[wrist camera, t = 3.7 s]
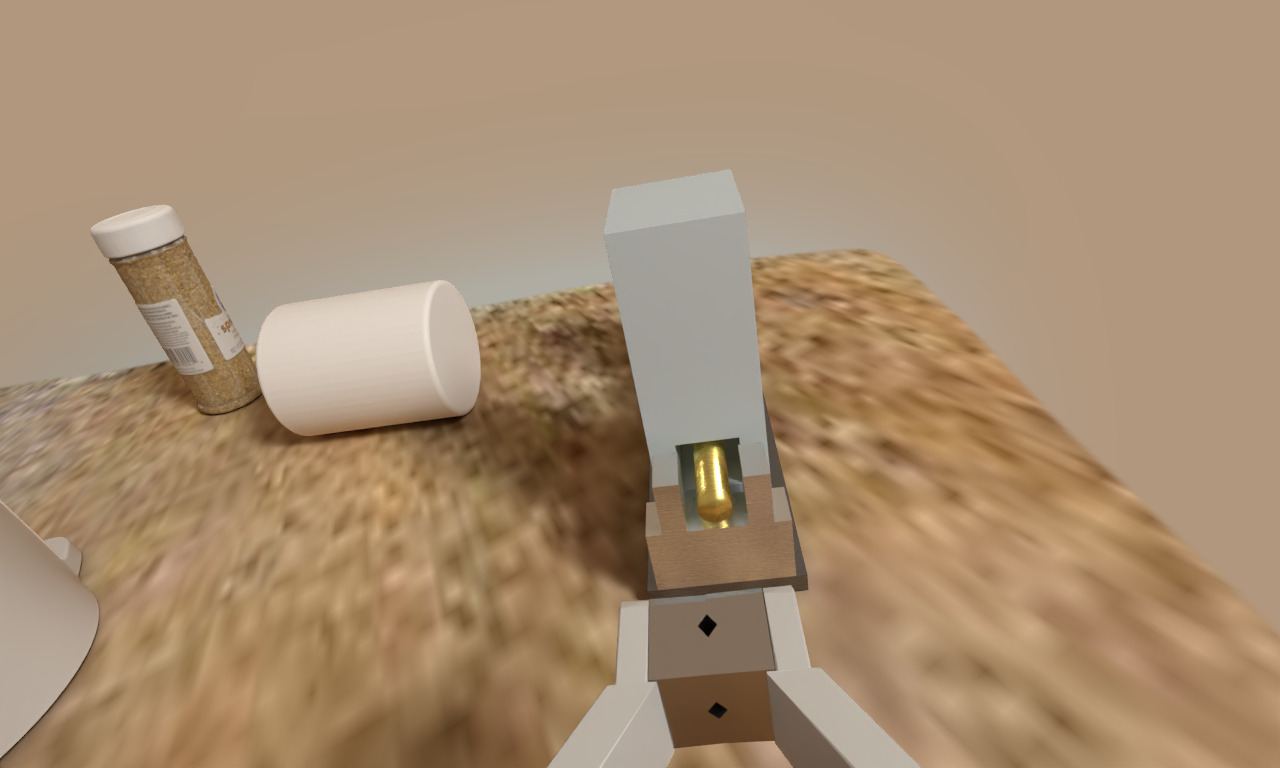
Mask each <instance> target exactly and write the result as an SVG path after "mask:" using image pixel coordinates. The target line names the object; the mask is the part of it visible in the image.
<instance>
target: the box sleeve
mask: <svg viewBox="0 0 1280 768" xmlns="http://www.w3.org/2000/svg"><path fill="white" fill-rule="evenodd" d="M604 240H605V244H606V249H607V253H608V258H609V263H610V268H611V273H612V278H613V283H614V287H615V292H616V297H617V302H618V307H619V311H620V316H621V321H622V326H623V331H624V335H625V340H626V345H627V350H628V355H629V359H630V364H631V369H632V374H633V378H634V383H635V388H636V393H637V398H638V402H639V407H640V412H641V417H642V422H643V426H644V431H645V436H646V441H647V446H648V450H649V455H650V460H651V465H652V455H660V454H668V453H676V452H677V455H678V461H679V466H680V471H681V477H682V482H683V488H684V493H685V498H692V497H697V494H696V480H695V466H694V452H693V443H698V442H706V441H714V440H722V439H723V443H724V450H725V458H726V465H727V473H728V480H729V487H730V493H735V492H743V491H744V490H743V482H742V474H741V466H740V458H739V450H738V445H740V444H748V443H756V442H763V443H764V448H765V453H766V457H767V462H768V466H769V471H770V465H769V455H768V444H767V434H766V423H765V413H764V402H763V392H762V381H761V371H760V360H759V350H758V340H757V329H756V319H755V308H754V298H753V287H752V277H751V266H750V256H749V246H748V236H747V224H746V214H745V210H744V207H743V204H742V201H741V198H740V195H739V192H738V190H737V186H736V184H735V181H734V178H733V175H732V172H731V170H730V169H729V170H724V171H718V172H712V173H706V174H700V175H694V176H688V177H682V178H676V179H670V180H665V181H658V182H652V183H646V184H641V185H634V186H628V187H622V188H616V189H613V190H612V195H611V200H610V205H609V210H608V215H607V220H606V225H605V230H604ZM770 478H771V476H770ZM771 488H772V486H771Z"/></svg>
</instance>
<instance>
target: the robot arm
mask: <svg viewBox="0 0 1280 768" xmlns="http://www.w3.org/2000/svg"><path fill="white" fill-rule="evenodd" d="M81 560H82V553H81V550H80V549H79V548H77V547H76V546H75V545H74V544H73V543H72V542H71V541H70V540H69V539H68V538H65V537H56V538H51V539H47V540H43V539H42V538H40V537H39V536H38V535H37V534H36V533H35V532H34V531H33V530H32V529H31V528H30V527H29V526H28V525H27V524H26V523H24V522H23V521H22V520H21V519H20V518H19V517H18V516H17V515H16V514H15V513H14V512H13V511H12V510H11V509H10V508H9V507H7V506H6V505H5V504H4V503H3V502H2V501H1V500H0V758H1V757H2V756H3V755H4V754H5V753H6V752H7V751H8V750H9V749H10V748H11V747H12V746H13V745H14V744H16V743H17V742H18V741H19V740H20V739H21V738H22V737H23V736H24V735H25V734H26V733H27V731H28V730H29V729H30V728H31V727H32V726H33V725H34V724H35V723H36V722H37V721H38V720H39V719H40V718H41V717H42V715H43V714H44V713H45V712H46V711H47V710H48V709H49V707H50V706H51V705H52V704H53V703H54V702H55V700H56V699H57V698H58V697H59V695H60V694H61V693H62V691H63V690H64V689H65V688H66V686H67V685H68V683H69V682H70V681H71V679H72V678H73V676H74V675H75V673H76V672H77V670H78V669H79V667H80V665H81V664H82V662H83V660H84V658H85V657H86V655H87V653H88V651H89V649H90V647H91V644H92V642H93V640H94V637H95V634H96V631H97V627H98V621H99V606H98V603H97V600H96V598H95V596H94V594H93V593H92V592H91V591H90V590H89V589H88V588H87V587H86V586H85V585H84V584H83V583H82V582H81V581H80V579H79V576H78V575H79V571H80V566H81ZM757 741H775V744H776V745H777V746H778V748H779V749H780V750H781V752H782V753H783V754H784V756H785V757H786V758H787V760H788V761H789V762H790V764H791V765H792V766H793V768H921V767H920V766H919V765H918V764H917V763H916V762H915V761H914V760H913V759H912V758H911V757H910V756H909V755H908V754H907V753H906V752H905V751H904V750H903V749H902V748H901V747H900V746H899V745H898V744H897V743H896V742H895V741H894V740H893V739H892V738H891V737H890V736H889V735H888V734H887V733H886V732H885V731H884V730H883V729H882V728H881V727H880V726H879V725H878V724H877V723H876V722H875V721H874V720H873V719H872V718H871V717H870V716H869V715H868V714H867V713H866V712H865V711H864V710H863V709H862V708H861V707H860V706H859V705H858V704H857V703H856V702H855V701H854V700H853V699H852V698H851V697H850V696H849V695H848V694H847V693H846V692H844V691H843V690H842V689H841V688H840V687H839V686H838V685H837V684H836V683H835V682H834V681H833V680H832V679H831V678H830V677H829V676H828V675H827V674H826V673H825V672H824V671H823V670H822V669H821V668H820V667H813V668H811V665H810V661H809V656H808V652H807V647H806V642H805V638H804V633H803V629H802V624H801V619H800V615H799V610H798V606H797V601H796V596H795V592H794V589H793V587H792V586H791V585H788V586H778V587H769V588H763V590H762V588H755V589H747V590H738V591H729V592H720V593H711V594H706V595H700V596H687V597H673V598H660V599H650V600H638V601H626V602H622V603H621V606H620V609H619V621H618V637H617V653H616V669H615V685H609V686H606V687H605V688H604V690H603V691H602V692H601V694H600V695H599V696H598V698H597V699H596V701H595V702H594V703H593V705H592V706H591V708H590V709H589V710H588V712H587V713H586V714H585V716H584V717H583V719H582V720H581V721H580V723H579V724H578V726H577V727H576V728H575V730H574V731H573V732H572V734H571V735H570V737H569V738H568V739H567V741H566V742H565V743H564V745H563V746H562V748H561V749H560V750H559V752H558V753H557V755H556V756H555V757H554V759H553V760H552V761H551V763H550V764H549V766H548V767H547V768H667V766H668V764H669V762H670V760H671V758H672V756H673V754H674V748H682V747H692V746H701V745H711V744H720V743H737V742H757Z"/></svg>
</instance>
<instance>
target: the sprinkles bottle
mask: <svg viewBox="0 0 1280 768" xmlns="http://www.w3.org/2000/svg"><path fill="white" fill-rule="evenodd" d="M90 233H91V235H92V237H93V239H94V240H95V242H96V244H97V246H98V247H99V249H100V251H101V252H102V254H103V255H104V257H106V258H109V262H110V263H111V264H112V265H113V266H115V268H116V270H117V272H118V274H119V275H120V277H121V279H122V280H123V282H124V283H125V285H126V286H127V288H128V290H129V292H130V293H131V295H132V297H133V298H134V300H135V303H136V305H137V307H138V309H139V310H140V312H141V314H142V315H143V317H144V318H145V320H146V322H147V323H148V325H149V326H150V328H151V330H152V332H153V333H154V335H155V336H156V338H157V340H158V341H159V343H160V344H161V346H162V348H163V349H164V351H165V352H166V354H167V356H168V357H169V359H170V360H171V362H172V364H173V365H174V367H175V368H176V370H177V371H178V373H180V374H181V376H182V377H183V379H184V381H185V382H186V384H187V386H188V387H189V388H190V390H191V392H192V393H193V395H194V397H195V398H196V400H197V402H198V404H197V405H198V408H199V409H200V411H201V412H203V413H206V414H220V413H226V412H230V411H233V410H235V409H238V408H240V407H242V406H244V405H247V404H249V403H250V402H252V401H253V400H255V399H256V398H257V397H258V396H259V395H261V393H262V390H261V387H260V384H259V380H258V375H257V368H256V366H255V364H254V363H253V361H252V359H251V357H250V355H249V353H248V352H247V350H246V349H245V346H244V343H243V341H242V339H241V337H240V335H239V334H238V332H237V330H236V328H235V326H234V325H233V323H232V321H231V320H230V318H229V316H228V314H227V312H226V310H225V309H224V307H223V305H222V303H221V301H220V300H219V298H218V296H217V294H216V292H215V290H214V288H213V287H212V285H211V284H210V283H209V281H208V279H207V277H206V276H205V273H204V272H203V270H202V268H201V266H200V265H199V263H198V261H197V259H196V257H195V256H194V254H193V252H192V250H191V248H190V246H189V245H188V242H187V237H185V236H184V233H185V230H184V228H183V226H182V224H181V222H180V220H179V219H178V217H177V215H176V213H175V212H174V210H173V208H172V207H170V206H168V205H156V206H150V207H145V208H140V209H136V210H132V211H129V212H126V213H122V214H119V215H116V216H114V217H111V218H108V219H106V220H103V221H101V222H99V223H97V224H95V225H94V226H93V227H92V228H91V229H90Z"/></svg>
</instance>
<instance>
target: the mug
mask: <svg viewBox="0 0 1280 768" xmlns="http://www.w3.org/2000/svg"><path fill="white" fill-rule="evenodd" d="M256 368H257V375H258V380H259V384H260V387H261V390H262V393H263V396H264V398H265V400H266V402H267V405H268V406H269V408H270V410H271V411H272V413H273V414H274V416H275V417H276V418H277V419H278V421H279V422H280V423H281V424H282V425H283V426H285V427H286V428H287V429H288V430H290V431H292V432H294V433H296V434H299V435H303V436H313V435H321V434H328V433H336V432H343V431H351V430H358V429H366V428H373V427H381V426H388V425H395V424H403V423H410V422H418V421H425V420H433V419H440V418H448V417H455V416H463V415H465V414H467V413H469V412H470V411H471V409H472V408H473V407H474V405H475V403H476V400H477V397H478V393H479V387H480V376H481V367H480V353H479V346H478V340H477V335H476V331H475V327H474V324H473V320H472V317H471V315H470V312H469V309H468V307H467V305H466V303H465V301H464V299H463V297H462V296H461V294H460V293H459V291H458V290H457V289H456V288H455V287H454V286H453V285H452V284H450V283H449V282H447V281H444V280H436V281H430V282H424V283H417V284H410V285H405V286H398V287H391V288H385V289H379V290H373V291H366V292H359V293H353V294H347V295H341V296H334V297H328V298H322V299H315V300H308V301H302V302H296V303H289V304H284V305H281V306H279V307H277V308H275V309H274V310H273V311H271V312H270V313H269V314H268V316H267V317H266V319H265V320H264V322H263V324H262V326H261V328H260V331H259V335H258V339H257V345H256Z"/></svg>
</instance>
